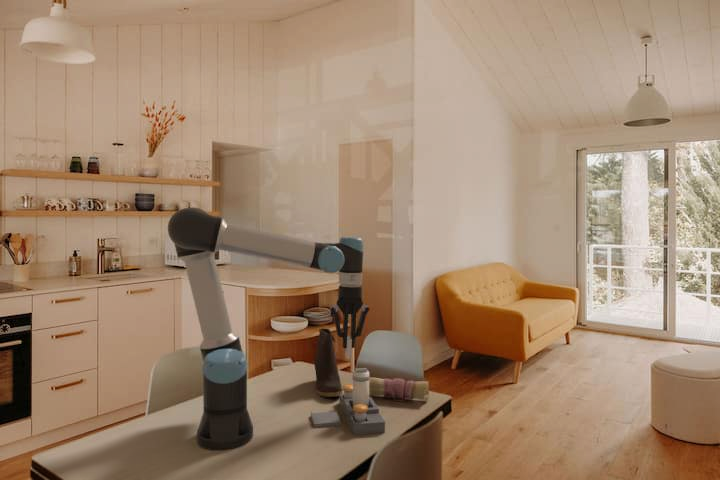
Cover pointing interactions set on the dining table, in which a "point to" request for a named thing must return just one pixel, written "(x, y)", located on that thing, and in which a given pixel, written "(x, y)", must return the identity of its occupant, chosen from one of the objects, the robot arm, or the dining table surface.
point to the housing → (373, 417)
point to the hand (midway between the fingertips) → (348, 357)
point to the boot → (327, 366)
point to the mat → (325, 419)
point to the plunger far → (348, 391)
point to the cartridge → (361, 386)
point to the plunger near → (360, 412)
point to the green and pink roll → (399, 389)
